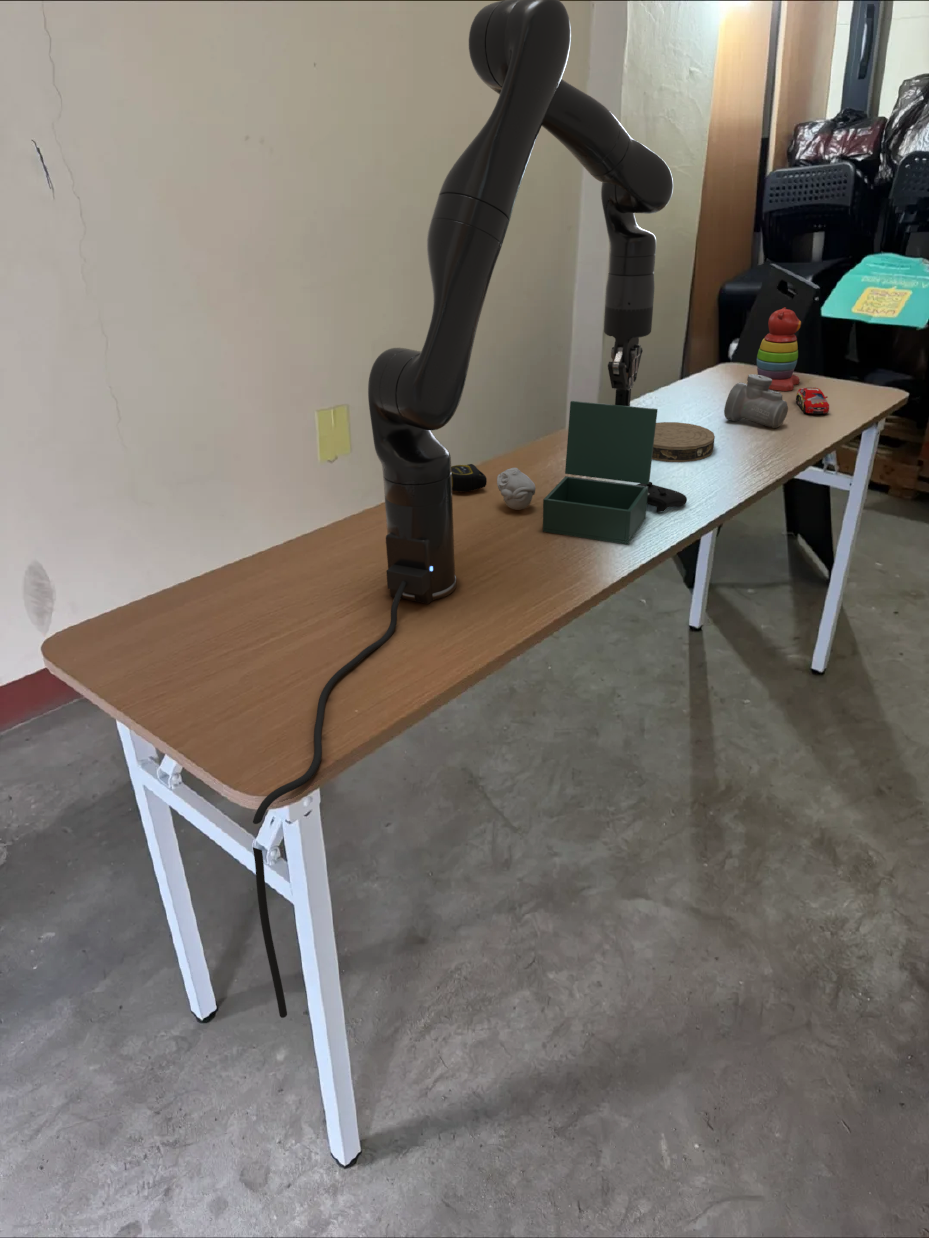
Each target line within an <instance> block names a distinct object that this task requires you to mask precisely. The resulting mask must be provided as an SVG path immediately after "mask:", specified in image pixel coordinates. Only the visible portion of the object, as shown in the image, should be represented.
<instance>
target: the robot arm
mask: <svg viewBox="0 0 929 1238" xmlns="http://www.w3.org/2000/svg"><path fill="white" fill-rule="evenodd" d="M570 21H571V20H570V16H569V14H568V11H567V8H566V6H565V5H564V3H563V2H561V0H498V1H495V2H492V3H490V4H488V5H485V6H484V7H482V8H481V9H480V10H479V11H478V12H477V14H476V15H475V16H474V18H473V21H472V22H471V25H470V29H469V33H468V52H469V58H470V61H471V64H472V67H473V70H474V71H475V74H476V75H478V77H479V79H480V80H481V81H482V82H483V84H485V85H486V86H487V87H489V88H490V89H492V91H494V93H497V94H498V98H497V101H496V103H495V106H494V108H493V110H492V112H491V114H490V115H489V117H488V119H487V121H485V124H484V125H483V126H482V128H480V130H479V132H478V133H477V134H476V135H475V137H474V138H473V139H472V141H471V142H470V144H468V146H467V147H466V149H464V151H463V152H462V153H461V155H459V157H458V158H457V159H456V161H455V163H453V165H452V167H451V168H450V170H449V171H448V173H447V174H446V176H445V178H444V180H443V182H442V184H441V188H440V190H439V193H438V196H437V199H436V203H435V206H434V209H433V212H432V216H431V219H430V222H429V226H428V231H427V235H426V253H427V263H428V264H427V265H428V270H429V276H430V280H431V281H430V282H431V287H432V288H431V289H432V299H433V303H432V313H431V317H430V318H431V319H430V322H429V327H428V331H427V334H426V337H425V340H424V343H423V346H422V349H421V350H417V349H416V350H415V349H412V348H407V347H391V348H388V349H386V350H384V351H382V352H381V353H380V354H379V355H378V356H377V357H376V359H375V360H374V361H373V363H372V366H371V369H370V372H369V376H368V383H367V399H368V400H367V401H368V409H369V418H370V424H371V425H370V426H371V432H372V438H373V446H374V447H373V448H374V451H375V454H376V456H377V458H378V460H379V462H380V464H381V469H382V477H383V491H384V508H385V519H386V520H385V521H386V535H385V548H386V560H387V562H386V563H387V569H386V571H385V573H386V582H387V583H386V584H387V585H386V586H387V589H388V590H389V596H390V597H392V598H393V600H392V603H391V607H390V622H389V626H388V628H387V630H386V632H385V633H384V634H383V636H381V637H380V638H379V639H378V640H376V641H374V642H373V643H372V644H369V645H367V647H365V648H364V649H362V651H361V652H359V654H357V655H356V656H355V657H353V658H352V659H351V660H350V661H349V662H347V663H346V664H345V665H343V666H342V667H341V668H340V669H338V670H337V671H336V672H335V673H334V674H333V675H332V676H331V677H330V678H329V680H327V682H326V684H325V685H324V687H323V689H322V691H321V692H320V694H319V697H318V702H317V709H316V715H315V722H314V728H313V746H314V748H313V749H314V750H313V758H312V761H311V763H310V766H309V767H308V769H307V771H306V772H305V773H304V774H302V775H301V776H299V777H298V778H296V779H294V780H292V781H290V782H288V783H285V784H284V785H281V786H279V787H277V788H275V789H274V790H273V791H272V792H270V793H269V794H268V795H266V796H265V798H264V799H263V800H262V801H261V803H260V804H259V806H258V808H257V809H256V812H255V814H254V817H253V820H252V823H253V825H258V824H260V823H262V821H263V818H264V816H265V814H266V812H267V811H268V809H269V808H270V806H271V805H272V804H273V803H274V802H275V801H276V800H277V799H279V798H280V797H282V796H284V795H285V794H288V793H290V792H293V791H294V790H296V789H298V788H300V787H302V786H304V785H305V784H307V783H308V782H309V781H310V780H311V779H312V778H313V777H314V776H315V774H316V772H317V771H318V769H319V767H320V764H321V761H322V758H323V757H322V756H323V743H322V730H323V724H324V718H325V708H326V703H327V699H328V697H329V695H330V692H331V690H332V689H333V687H335V684H336V683H337V682H338V681H339V680H340V679H341V678H342V677H343V676H344V675H345V674H347V673H348V672H349V671H351V669H353V668H355V667H356V665H358V664H359V663H361V662H362V661H363V660H364V659H365V658H366V657H367V656H369V655H370V654H371V653H372V652H374V651H376V650H377V649H378V648H380V647H382V646H383V645H384V644H386V642H388V640H389V639H390V638H391V637H392V635H393V634H394V632H395V630H396V627H397V623H398V609H399V604H400V601H401V600H407V601H412V602H417V603H420V604H421V603H422V604H431V602H433V601H435V600H439V599H442V598H445V597H447V596H449V595H450V594H452V593H453V592H454V591H455V589H456V587H457V576H456V563H455V561H456V560H455V535H454V507H453V506H454V505H453V504H454V503H453V490H452V473H451V467H452V457H451V453H450V452H449V449H448V448H447V447H446V446H445V445H444V444H442V442H441V441H439V439H438V438H436V436H435V435H434V434H433V431H437V430H440V429H442V428H444V427H445V426H446V425H447V424H448V423H450V421H451V420H452V418H453V417H454V415H455V413H456V412H457V410H458V407H459V405H460V402H461V399H462V396H463V392H464V388H465V386H466V380H467V377H468V373H469V366H470V361H471V357H472V352H473V348H474V342H475V338H476V335H477V329H478V325H479V322H480V318H481V314H482V310H483V308H484V303H485V300H486V297H487V294H488V290H489V286H490V283H491V279H492V277H493V274H494V273H493V272H494V270H495V267H496V264H497V261H498V258H499V256H500V253H501V250H502V247H503V244H504V240H505V238H506V235H507V231H508V228H509V225H510V221H511V217H512V215H513V210H514V206H515V203H516V201H517V197H518V194H519V190H520V187H521V184H522V181H523V178H524V175H525V172H526V170H527V167H528V165H529V161H530V158H531V155H532V152H533V150H534V147H535V143H536V141H537V139H538V136H539V133H540V131H541V128H544V129H545V130H546V131H547V132H548V133H550V134H551V135H552V136H553V137H554V138H555V139H556V140H558V141H559V142H560V143H561V144H562V145H563V146H564V147H565V148H566V149H567V151H569V153H570V154H572V156H573V157H574V158H575V159H576V160H577V161H578V162H579V163H580V164H581V166H582V167H583V168H584V169H585V170H586V171H587V172H588V174H590V176H592V177H593V179H596V180H597V181H599V182H601V186H600V199H601V205H602V211H603V216H604V221H605V227H606V232H607V236H608V243H609V255H608V274H607V280H606V286H605V298H604V299H605V301H604V302H605V303H604V319H603V320H604V321H603V333H604V334H605V335H607V336H608V337H612V338H614V340H615V341H614V344H613V346H612V347H611V350H610V358H611V360H612V361H608V363H607V370H608V375H609V380H610V386H611V389H614V390H615V399H614V405H622V406H631V399H632V397H631V396H632V389H633V388H634V383H636V381H637V378H638V377H637V376H638V372H639V368H640V363H641V359H642V354H643V353H644V352H643V347H642V345H641V344H639V342H640V338H644V337H647V336H649V335H650V334H651V333H652V329H653V328H652V326H653V314H654V301H655V287H656V286H655V265H656V253H657V238H656V235H655V234H654V233H653V232H651V231H649V230H647V229H643V228H641V227H640V226H639V225H638V223H637V220H636V216H635V214H645V215H648V214H650V215H651V214H656V213H658V212H660V211H662V210H663V209H665V208H666V207H667V205H669V203H670V200H671V198H672V196H673V192H674V179H673V175H672V172H671V169H670V168H669V165H668V164H667V163H666V161H665V160H663V158H662V157H660V156H659V155H658V154H657V153H656V152H654V151H653V150H651V149H650V148H649V147H647V146H646V145H644V144H643V143H641V142H639V141H637V140H636V139H634V138H632V137H631V135H630V134H629V133H628V132H627V130H626V129H625V128H624V126H623V125H622V124H621V122H620V121H619V120H618V119H617V117H616V116H615V115H614V114H613V113H612V111H610V109H608V108H607V107H606V106H605V105H604V104H602V103H601V102H599V100H597V99H595V98H594V97H592V95H589V94H587V93H586V92H584V91H582V90H580V89H579V88H577V87H576V86H573V84H570V83H569V82H567V81H565V80H564V79H562V78H563V75H564V72H565V69H566V67H567V63H568V59H569V54H570V50H571V40H572V27H571V22H570ZM252 852H253V858H254V859H253V860H254V868H255V883H256V893H257V903H258V913H259V918H260V925H261V931H262V936H263V942H264V946H265V951H266V952H265V953H266V956H267V961H268V965H269V969H270V974H271V978H272V982H273V987H274V993H275V997H276V1003H277V1008H278V1015H279V1017H280V1018H282V1019H284V1018H286V1017H287V1016H288V1010H287V1005H286V999H285V998H286V997H285V993H284V988H283V983H282V979H281V973H280V969H279V965H278V959H277V955H276V950H275V945H274V939H273V934H272V928H271V923H270V917H269V909H268V908H269V907H268V901H267V890H266V878H265V863H264V862H265V861H264V855H263V850H262V849H260V848H257V847H255V846H252Z"/></svg>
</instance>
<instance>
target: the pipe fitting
mask: <svg viewBox="0 0 929 1238" xmlns="http://www.w3.org/2000/svg"><path fill="white" fill-rule="evenodd" d="M746 381H747V383H746V382H745V383H744V382H737V383H735V384H734V386H733V387H732V388H731V389H730V391H729V393H728V396H727V398H726V400H725V404H724V409H723V411H724V412H723V415H724V417H725V419H727V420H729V421H733V422H737V421H740V420H741V419H744V420H746V421H750V422H753V423H755V424H758V425H762V426H766V427H768V428H771V429H772V428H773V429H777V428H779V427H780V426H781V425H782V424H783V423H784V421H785V420H786V418H787V416H788V413H789V405H788V402H787V401H786V400H784V399H783V394H782V393H781V391H778V390H772V389H769V387H770V385H771V383H772V379H771V378H769V377H766V376H762V375H758V374H756V373H749V374H748V375H747V379H746Z"/></svg>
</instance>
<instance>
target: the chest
mask: <svg viewBox="0 0 929 1238" xmlns="http://www.w3.org/2000/svg"><path fill="white" fill-rule="evenodd" d="M647 497H648V487H647V486H639V485H637V484H631V483H624V482H615V481H607V480H600V479H599V480H598V479H593V478H592V479H591V478H584V477H576V476H568V475H567V476H566V475H565V476H564V477H563V478H562V479H561V480H560V481H559V482H558V484H556V486H554V488H552V489H551V491H549V493H548V494H547V495H546V496H545V497H544V498H543V500H542V533H543V532H544V533H550V534H556V535H557V534H558V535H563V536H569V537H576V538H583V539H590V540H595V541H601V542H608V543H615V544H621V545H630V543H631V541H632V540H633V538H634V537H635V536H636V534H637V532H638V531H639V529H640V528H641V526H642V525H643V523H644V522H645V520H646V518H647V508H648V504H647Z"/></svg>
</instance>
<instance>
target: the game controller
mask: <svg viewBox="0 0 929 1238" xmlns="http://www.w3.org/2000/svg"><path fill="white" fill-rule="evenodd" d="M636 485H639V486H647V487H648V497H647V506H652V507H655V508H656V509H655V510H656V513H663V512H665V511H666V510H667V509H669V508H680V507H684V506H685V505H686V504H687V503H688V498H687V496H686V494H684V493H682V492H679V491H677V490H674V489H671V488H667V487H663V486H659V485H657V484H653V482H652V481H649V484H642V483H636Z"/></svg>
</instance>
